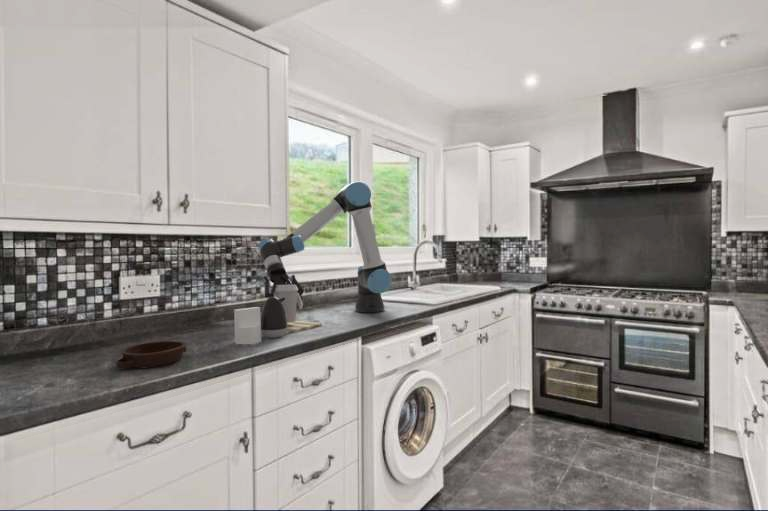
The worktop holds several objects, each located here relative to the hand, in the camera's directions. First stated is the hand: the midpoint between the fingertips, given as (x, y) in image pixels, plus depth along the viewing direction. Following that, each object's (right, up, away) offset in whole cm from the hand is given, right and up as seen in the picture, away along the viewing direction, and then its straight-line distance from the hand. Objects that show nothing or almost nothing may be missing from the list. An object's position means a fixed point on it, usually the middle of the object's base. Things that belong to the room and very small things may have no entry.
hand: (290, 308), depth 186 cm
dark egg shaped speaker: (-3, -9, -16) cm, 19 cm away
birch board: (-2, -8, +3) cm, 9 cm away
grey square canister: (-10, -10, -24) cm, 28 cm away
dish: (-30, -11, -51) cm, 60 cm away
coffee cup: (-2, -6, +3) cm, 7 cm away
